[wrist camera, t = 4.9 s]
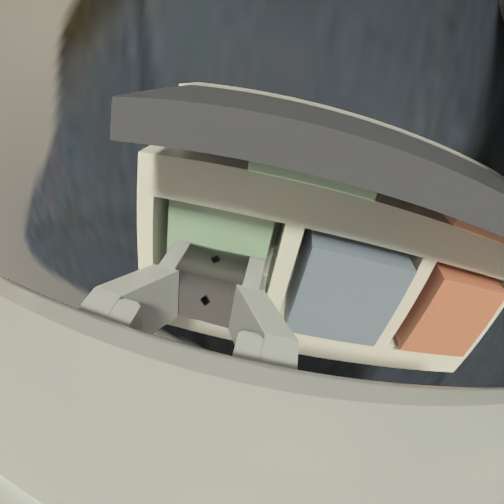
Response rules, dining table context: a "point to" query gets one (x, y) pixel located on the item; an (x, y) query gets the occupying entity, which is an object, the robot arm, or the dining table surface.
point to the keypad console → (312, 193)
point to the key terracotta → (450, 311)
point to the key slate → (346, 288)
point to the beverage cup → (501, 8)
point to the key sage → (219, 229)
